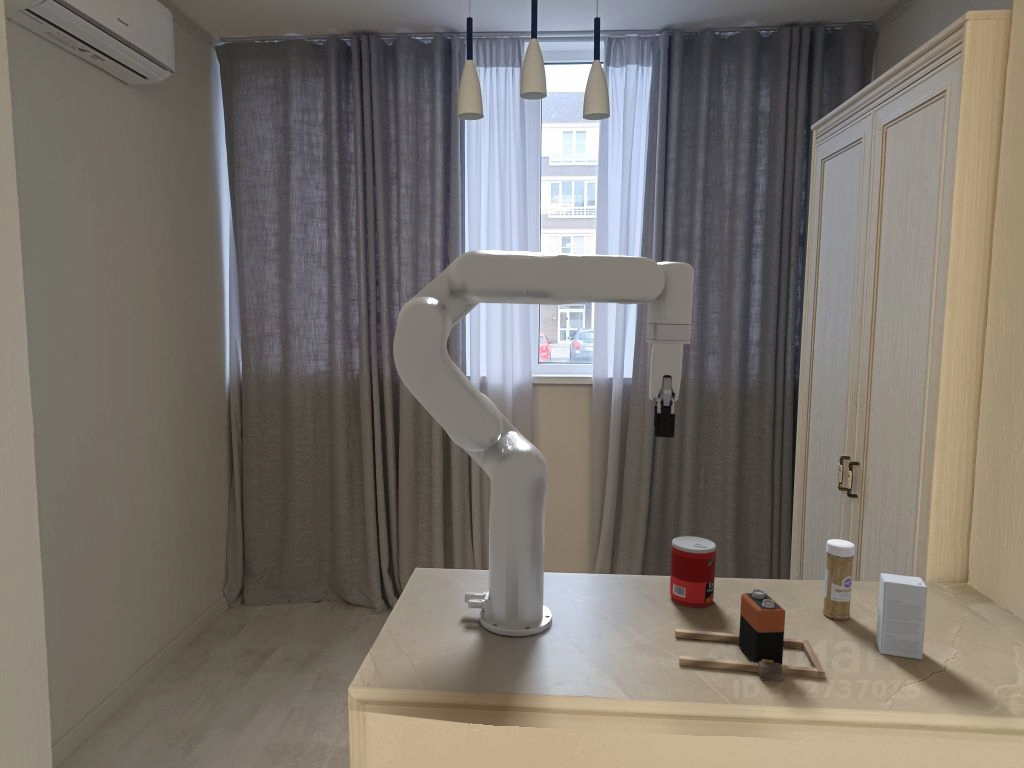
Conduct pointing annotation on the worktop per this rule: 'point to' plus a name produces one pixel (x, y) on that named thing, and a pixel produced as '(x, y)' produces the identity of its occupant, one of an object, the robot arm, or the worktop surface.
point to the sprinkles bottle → (838, 579)
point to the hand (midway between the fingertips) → (663, 432)
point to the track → (764, 667)
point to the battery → (761, 627)
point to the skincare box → (901, 615)
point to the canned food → (692, 571)
